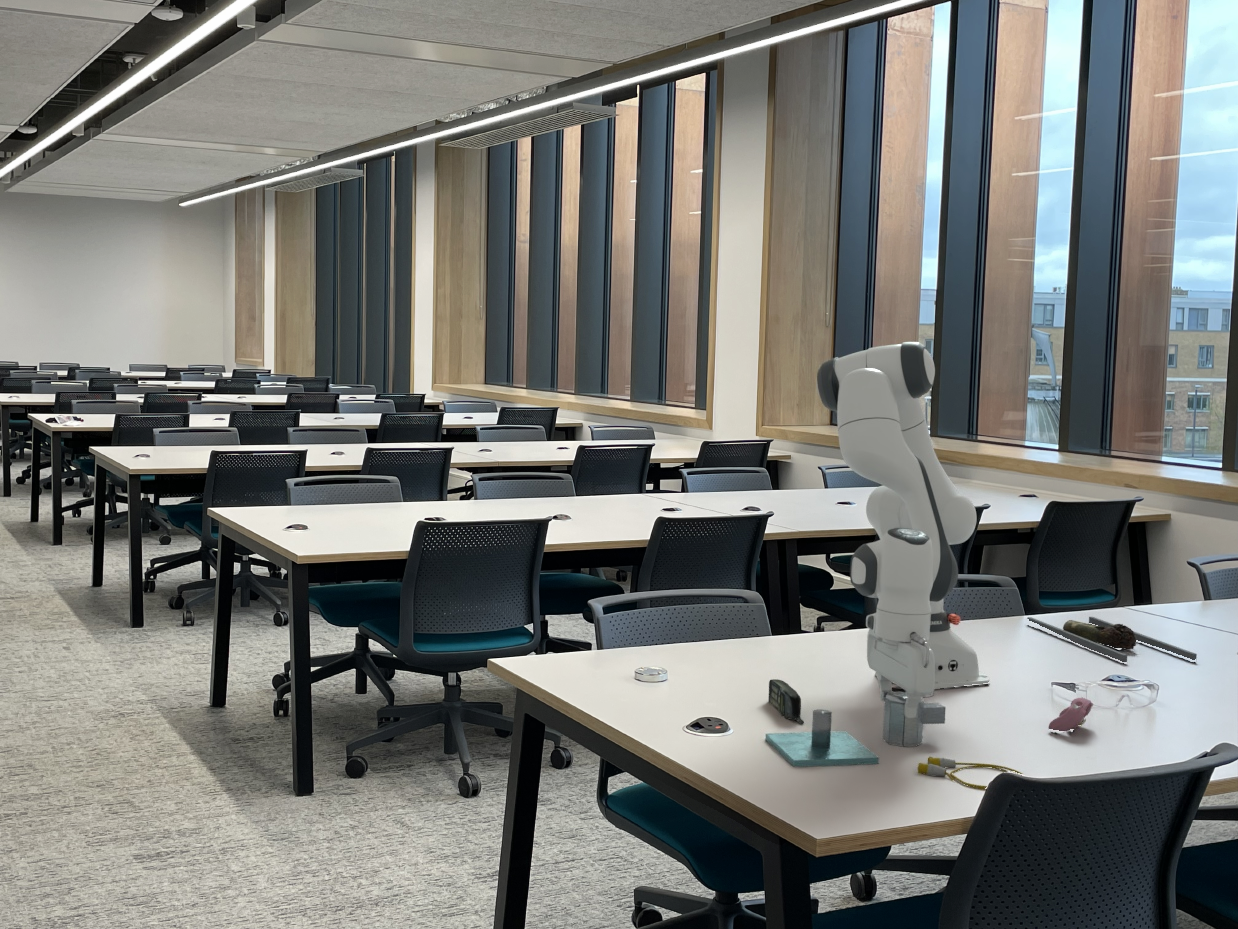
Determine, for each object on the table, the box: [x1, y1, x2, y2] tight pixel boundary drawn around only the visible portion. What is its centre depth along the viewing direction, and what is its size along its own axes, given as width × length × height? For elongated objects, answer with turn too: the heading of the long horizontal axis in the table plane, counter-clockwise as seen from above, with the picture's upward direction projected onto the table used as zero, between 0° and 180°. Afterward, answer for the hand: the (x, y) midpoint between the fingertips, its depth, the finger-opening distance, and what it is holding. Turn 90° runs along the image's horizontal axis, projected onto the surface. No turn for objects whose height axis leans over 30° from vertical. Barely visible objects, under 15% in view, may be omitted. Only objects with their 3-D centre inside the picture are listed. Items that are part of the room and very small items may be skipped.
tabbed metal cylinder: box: [882, 691, 946, 747], centre depth 208 cm, size 10×6×8 cm, turn 101°
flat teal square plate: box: [765, 708, 880, 767], centre depth 200 cm, size 14×14×6 cm
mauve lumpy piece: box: [1047, 696, 1094, 732], centre depth 217 cm, size 10×5×7 cm, turn 148°
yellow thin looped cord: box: [917, 756, 1023, 791], centre depth 191 cm, size 12×16×2 cm
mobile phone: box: [768, 679, 805, 725], centre depth 222 cm, size 5×3×15 cm
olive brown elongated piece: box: [1062, 619, 1137, 650], centre depth 289 cm, size 18×7×6 cm, turn 31°
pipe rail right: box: [1088, 616, 1198, 660], centre depth 292 cm, size 1×40×2 cm, turn 11°
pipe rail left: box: [1026, 616, 1128, 663], centre depth 289 cm, size 1×40×2 cm, turn 11°
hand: (897, 708), depth 207 cm, fingers open, 8 cm apart
